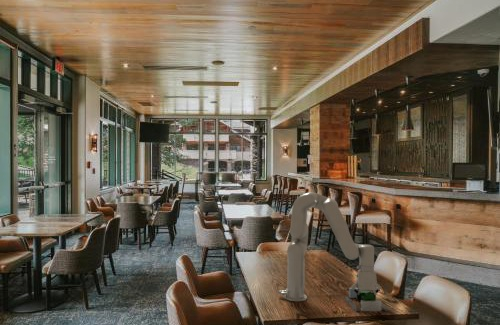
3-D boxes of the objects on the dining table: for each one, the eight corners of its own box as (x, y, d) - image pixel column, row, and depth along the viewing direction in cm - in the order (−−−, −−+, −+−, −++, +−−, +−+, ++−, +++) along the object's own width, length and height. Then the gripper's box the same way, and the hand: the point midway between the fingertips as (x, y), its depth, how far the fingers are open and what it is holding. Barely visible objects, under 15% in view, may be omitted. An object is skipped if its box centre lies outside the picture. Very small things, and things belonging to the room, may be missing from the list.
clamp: (361, 308, 223) (355, 291, 227) (372, 306, 223) (366, 289, 227) (366, 307, 212) (360, 289, 216) (377, 304, 212) (371, 286, 216)
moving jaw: (350, 297, 232) (350, 288, 232) (348, 296, 234) (349, 287, 234) (367, 297, 232) (367, 288, 232) (366, 296, 234) (366, 287, 234)
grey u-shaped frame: (355, 311, 210) (356, 301, 210) (344, 299, 230) (345, 290, 230) (387, 311, 211) (387, 301, 211) (374, 299, 231) (374, 290, 231)
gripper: (352, 269, 216) (352, 303, 215) (385, 270, 217) (384, 304, 216) (348, 266, 223) (348, 299, 223) (380, 266, 224) (379, 299, 224)
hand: (366, 301), depth 220 cm, fingers closed on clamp, 7 cm apart
